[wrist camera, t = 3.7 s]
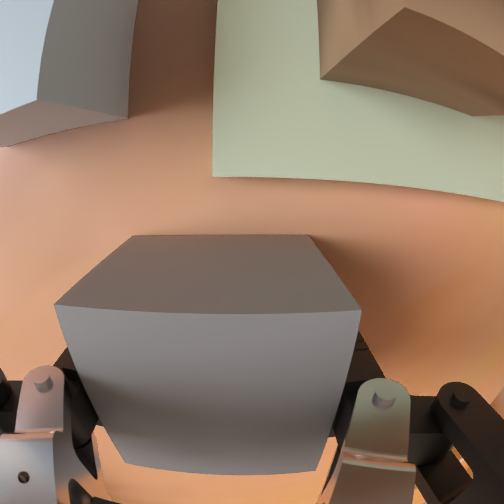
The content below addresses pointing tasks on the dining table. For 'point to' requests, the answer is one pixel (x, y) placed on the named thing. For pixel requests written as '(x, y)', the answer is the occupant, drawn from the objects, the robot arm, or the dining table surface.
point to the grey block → (213, 350)
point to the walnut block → (418, 49)
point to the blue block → (63, 65)
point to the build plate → (333, 114)
